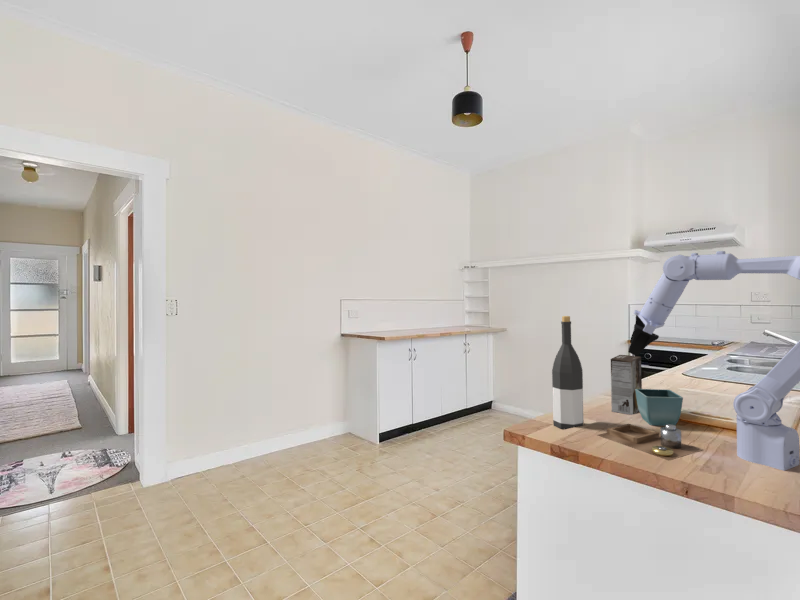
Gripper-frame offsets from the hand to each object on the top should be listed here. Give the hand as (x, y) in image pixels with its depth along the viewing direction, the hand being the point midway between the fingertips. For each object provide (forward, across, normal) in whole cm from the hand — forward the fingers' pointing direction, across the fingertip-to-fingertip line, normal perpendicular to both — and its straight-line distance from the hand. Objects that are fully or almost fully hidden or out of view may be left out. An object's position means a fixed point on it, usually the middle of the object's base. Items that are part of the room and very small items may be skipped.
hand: (633, 348), depth 108 cm
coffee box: (+24, -18, +9) cm, 31 cm away
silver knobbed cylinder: (+13, +12, +15) cm, 24 cm away
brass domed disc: (+13, +18, +13) cm, 26 cm away
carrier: (+16, +12, +12) cm, 24 cm away
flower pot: (+18, -5, +15) cm, 25 cm away
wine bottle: (+26, +5, -4) cm, 27 cm away
